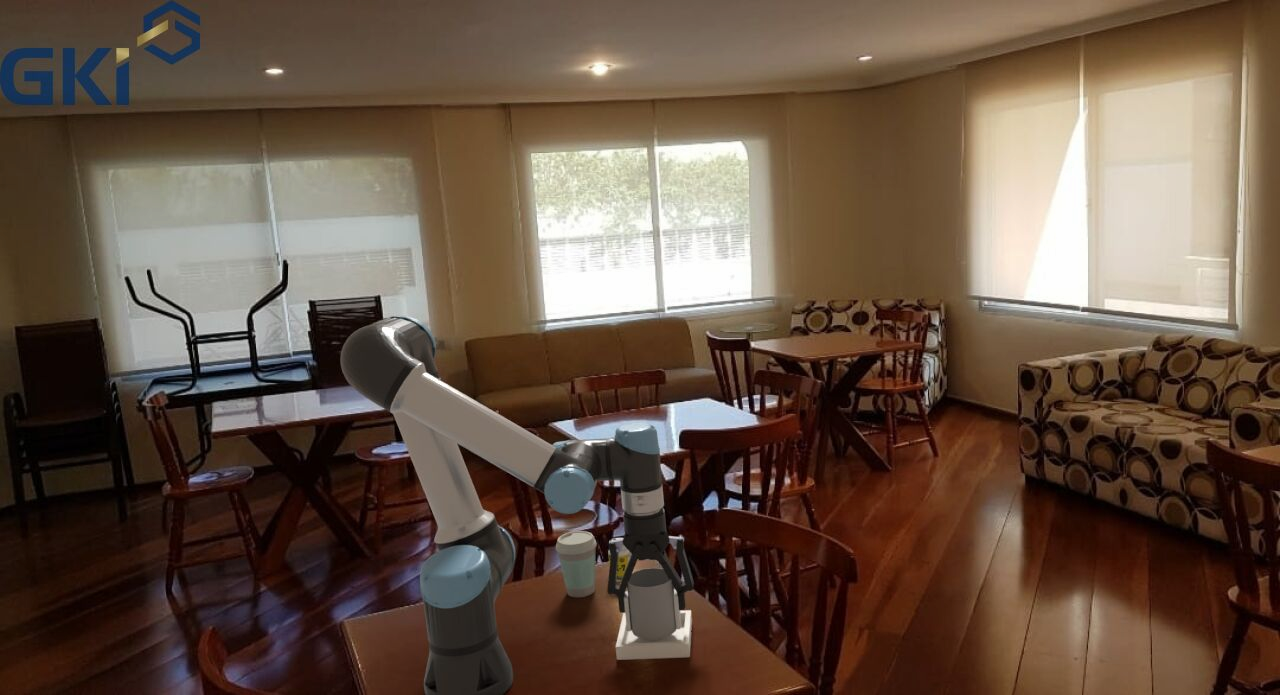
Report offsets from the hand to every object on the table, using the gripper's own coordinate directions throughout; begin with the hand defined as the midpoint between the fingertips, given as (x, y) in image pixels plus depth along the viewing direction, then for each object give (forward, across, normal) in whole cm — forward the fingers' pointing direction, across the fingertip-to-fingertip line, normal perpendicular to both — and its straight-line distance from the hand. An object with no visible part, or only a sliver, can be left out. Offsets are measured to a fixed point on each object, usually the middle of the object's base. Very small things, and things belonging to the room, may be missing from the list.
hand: (654, 626), depth 166 cm
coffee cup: (+3, -17, +22) cm, 29 cm away
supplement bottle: (+3, -9, +28) cm, 30 cm away
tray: (+3, 0, 0) cm, 3 cm away
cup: (+1, 0, 0) cm, 1 cm away
